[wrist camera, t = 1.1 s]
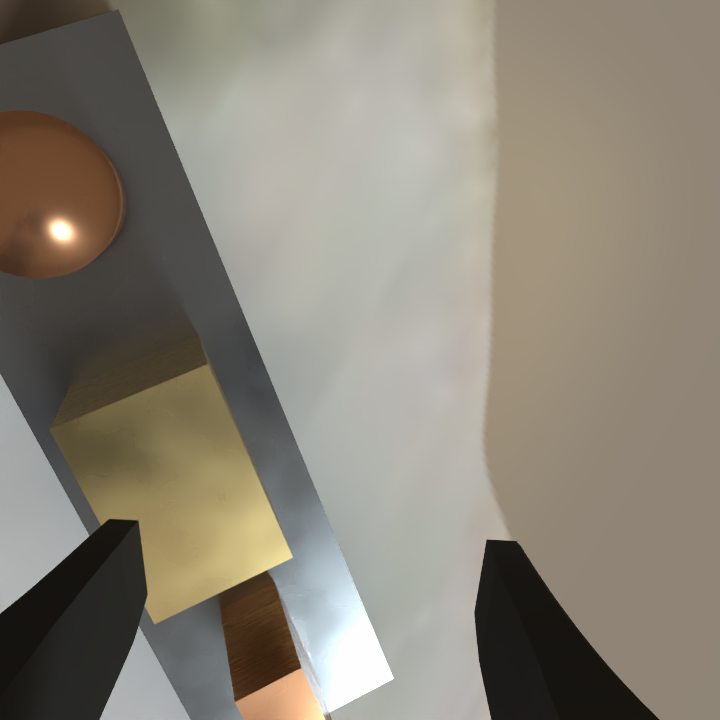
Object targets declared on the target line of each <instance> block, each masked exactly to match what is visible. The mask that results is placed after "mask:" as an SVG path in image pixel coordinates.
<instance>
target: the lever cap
mask: <svg viewBox="0 0 720 720" xmlns="http://www.w3.org/2000/svg"><path fill="white" fill-rule="evenodd" d="M49 430H50V432H51V434H52V436H53V438H54V439H55V441H56V443H57V445H58V447H59V449H60V450H61V452H62V454H63V456H64V458H65V460H66V462H67V463H68V465H69V467H70V469H71V471H72V473H73V475H74V476H75V478H76V480H77V482H78V484H79V486H80V487H81V489H82V491H83V493H84V495H85V497H86V499H87V500H88V502H89V504H90V506H91V508H92V510H93V512H94V513H95V515H96V517H97V519H98V521H99V523H100V524H101V525H103V524H104V523H105V522H106V521H107V520H108V519H123V520H139V528H140V536H141V544H142V552H143V560H144V567H145V575H146V583H147V591H148V595H147V599H146V602H145V608H146V610H147V611H148V613H149V615H150V617H151V619H152V621H153V622H154V624H156V623H158V622H160V621H163V620H165V619H167V618H169V617H171V616H173V615H175V614H177V613H179V612H181V611H183V610H185V609H187V608H189V607H192V606H194V605H196V604H198V603H200V602H202V601H204V600H206V599H208V598H210V597H212V596H214V595H216V594H219V593H221V592H223V591H225V590H227V589H229V588H231V587H233V586H235V585H237V584H239V583H241V582H243V581H245V580H248V579H250V578H252V577H254V576H256V575H258V574H260V573H262V572H264V571H266V570H268V569H270V568H272V567H274V566H277V565H279V564H281V563H283V562H285V561H287V560H289V559H291V558H293V556H292V553H291V551H290V548H289V546H288V543H287V540H286V538H285V535H284V533H283V530H282V528H281V525H280V522H279V520H278V517H277V515H276V512H275V509H274V507H273V504H272V502H271V499H270V497H269V494H268V492H267V490H266V488H265V485H264V483H263V481H262V479H261V476H260V474H259V472H258V469H257V467H256V465H255V463H254V460H253V458H252V456H251V453H250V451H249V449H248V447H247V444H246V442H245V440H244V437H243V435H242V433H241V431H240V428H239V426H238V424H237V421H236V419H235V417H234V415H233V412H232V410H231V408H230V405H229V403H228V401H227V399H226V396H225V394H224V392H223V390H222V387H221V385H220V383H219V380H218V378H217V376H216V374H215V371H214V369H213V367H212V364H211V362H210V360H209V358H208V355H207V353H206V351H205V348H204V346H203V344H202V342H201V339H200V337H199V335H197V336H195V337H192V338H190V339H187V340H185V341H182V342H180V343H177V344H175V345H172V346H170V347H167V348H165V349H162V350H160V351H158V352H155V353H153V354H150V355H148V356H145V357H143V358H140V359H138V360H135V361H133V362H130V363H128V364H125V365H123V366H120V367H118V368H115V369H113V370H110V371H108V372H105V373H103V374H100V375H98V376H95V377H93V378H91V379H88V380H86V381H83V382H81V383H78V384H76V385H73V386H71V387H70V388H69V390H68V392H67V394H66V396H65V398H64V400H63V402H62V404H61V406H60V408H59V410H58V412H57V415H56V417H55V419H54V421H53V423H52V425H51V427H50V429H49Z"/></svg>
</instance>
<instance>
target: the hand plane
mask: <svg viewBox="0 0 720 720" xmlns="http://www.w3.org/2000/svg"><path fill="white" fill-rule="evenodd" d="M197 335H199V337H200V339H201V342H202V344H203V346H204V348H205V351H206V353H207V355H208V358H209V360H210V362H211V364H212V367H213V369H214V371H215V374H216V376H217V378H218V380H219V383H220V385H221V387H222V390H223V392H224V394H225V396H226V399H227V401H228V403H229V405H230V408H231V410H232V412H233V415H234V417H235V419H236V421H237V424H238V426H239V428H240V431H241V433H242V435H243V437H244V440H245V442H246V444H247V447H248V449H249V451H250V453H251V456H252V458H253V460H254V463H255V465H256V467H257V469H258V472H259V474H260V476H261V479H262V481H263V483H264V485H265V488H266V490H267V492H268V494H269V497H270V499H271V502H272V504H273V507H274V509H275V512H276V515H277V517H278V520H279V522H280V525H281V528H282V530H283V533H284V535H285V538H286V540H287V543H288V546H289V548H290V551H291V553H292V556H293V558H291V559H289V560H287V561H285V562H283V563H281V564H279V565H277V566H274V567H272V568H270V569H268V570H266V571H264V572H262V573H260V574H258V575H256V576H254V577H252V578H250V579H248V580H245V581H243V582H241V583H239V584H237V585H235V586H233V587H231V588H229V589H227V590H225V591H223V592H221V593H219V594H216V595H214V596H212V597H210V598H208V599H206V600H204V601H202V602H200V603H198V604H196V605H194V606H192V607H189V608H187V609H185V610H183V611H181V612H179V613H177V614H175V615H173V616H171V617H169V618H167V619H165V620H163V621H160V622H158V623H156V624H154V622H153V621H152V619H151V617H150V615H149V613H148V611H147V610H146V608H145V606H144V609H143V613H142V616H141V620H140V623H139V626H140V628H141V630H142V632H143V633H144V635H145V637H146V639H147V641H148V643H149V644H150V646H151V648H152V650H153V652H154V653H155V655H156V657H157V659H158V661H159V663H160V664H161V666H162V668H163V670H164V672H165V673H166V675H167V677H168V679H169V681H170V683H171V684H172V686H173V688H174V690H175V692H176V693H177V695H178V697H179V699H180V701H181V703H182V704H183V706H184V708H185V710H186V712H187V713H188V715H189V717H190V719H191V720H332V719H331V716H330V712H331V711H333V710H335V709H337V708H339V707H341V706H343V705H345V704H346V703H348V702H350V701H352V700H354V699H356V698H358V697H359V696H361V695H363V694H365V693H367V692H369V691H371V690H373V689H374V688H376V687H378V686H380V685H382V684H384V683H386V682H387V681H389V680H391V679H393V677H392V674H391V672H390V669H389V667H388V665H387V662H386V660H385V657H384V655H383V652H382V650H381V648H380V645H379V643H378V640H377V638H376V635H375V633H374V630H373V628H372V626H371V623H370V621H369V618H368V616H367V613H366V611H365V609H364V606H363V604H362V601H361V599H360V596H359V594H358V592H357V589H356V587H355V584H354V582H353V579H352V577H351V575H350V572H349V570H348V567H347V565H346V562H345V560H344V557H343V555H342V553H341V550H340V548H339V545H338V543H337V540H336V538H335V536H334V533H333V531H332V528H331V526H330V523H329V521H328V519H327V516H326V514H325V511H324V509H323V506H322V504H321V502H320V499H319V497H318V494H317V492H316V489H315V487H314V484H313V482H312V480H311V477H310V475H309V472H308V470H307V467H306V465H305V463H304V460H303V458H302V455H301V453H300V450H299V448H298V446H297V443H296V441H295V438H294V436H293V433H292V431H291V429H290V426H289V424H288V421H287V419H286V416H285V414H284V411H283V409H282V407H281V404H280V402H279V399H278V397H277V394H276V392H275V390H274V387H273V385H272V382H271V380H270V377H269V375H268V373H267V370H266V368H265V365H264V363H263V360H262V358H261V356H260V353H259V351H258V348H257V346H256V343H255V341H254V338H253V336H252V334H251V331H250V329H249V326H248V324H247V321H246V319H245V317H244V314H243V312H242V309H241V307H240V304H239V302H238V300H237V297H236V295H235V292H234V290H233V287H232V285H231V283H230V280H229V278H228V275H227V273H226V270H225V268H224V265H223V263H222V261H221V258H220V256H219V253H218V251H217V248H216V246H215V244H214V241H213V239H212V236H211V234H210V231H209V229H208V227H207V224H206V222H205V219H204V217H203V214H202V212H201V210H200V207H199V205H198V202H197V200H196V197H195V195H194V193H193V190H192V188H191V185H190V183H189V180H188V178H187V175H186V173H185V171H184V168H183V166H182V163H181V161H180V158H179V156H178V154H177V151H176V149H175V146H174V144H173V141H172V139H171V137H170V134H169V132H168V129H167V127H166V124H165V122H164V120H163V117H162V115H161V112H160V110H159V107H158V105H157V102H156V100H155V98H154V95H153V93H152V90H151V88H150V85H149V83H148V81H147V78H146V76H145V73H144V71H143V68H142V66H141V64H140V61H139V59H138V56H137V54H136V51H135V49H134V47H133V44H132V42H131V39H130V37H129V34H128V32H127V29H126V27H125V25H124V22H123V20H122V17H121V15H120V12H119V10H118V9H117V10H114V11H111V12H107V13H104V14H101V15H97V16H94V17H91V18H87V19H84V20H81V21H77V22H74V23H71V24H67V25H64V26H61V27H57V28H54V29H51V30H47V31H44V32H41V33H37V34H34V35H30V36H27V37H24V38H20V39H17V40H14V41H10V42H7V43H4V44H0V374H1V375H2V377H3V379H4V381H5V383H6V385H7V386H8V388H9V390H10V392H11V394H12V395H13V397H14V399H15V401H16V403H17V405H18V406H19V408H20V410H21V412H22V414H23V415H24V417H25V419H26V421H27V423H28V425H29V426H30V428H31V430H32V432H33V434H34V435H35V437H36V439H37V441H38V443H39V445H40V446H41V448H42V450H43V452H44V454H45V455H46V457H47V459H48V461H49V463H50V465H51V466H52V468H53V470H54V472H55V474H56V475H57V477H58V479H59V481H60V483H61V485H62V486H63V488H64V490H65V492H66V494H67V495H68V497H69V499H70V501H71V503H72V504H73V506H74V508H75V510H76V512H77V514H78V515H79V517H80V519H81V521H82V523H83V524H84V526H85V528H86V530H87V532H88V534H89V535H91V534H93V533H94V532H95V531H96V530H97V529H98V528H99V527H100V526H101V524H100V523H99V521H98V519H97V517H96V515H95V513H94V512H93V510H92V508H91V506H90V504H89V502H88V500H87V499H86V497H85V495H84V493H83V491H82V489H81V487H80V486H79V484H78V482H77V480H76V478H75V476H74V475H73V473H72V471H71V469H70V467H69V465H68V463H67V462H66V460H65V458H64V456H63V454H62V452H61V450H60V449H59V447H58V445H57V443H56V441H55V439H54V438H53V436H52V434H51V432H50V430H49V429H50V427H51V425H52V423H53V421H54V419H55V417H56V415H57V412H58V410H59V408H60V406H61V404H62V402H63V400H64V398H65V396H66V394H67V392H68V390H69V388H70V387H71V386H73V385H76V384H78V383H81V382H83V381H86V380H88V379H91V378H93V377H95V376H98V375H100V374H103V373H105V372H108V371H110V370H113V369H115V368H118V367H120V366H123V365H125V364H128V363H130V362H133V361H135V360H138V359H140V358H143V357H145V356H148V355H150V354H153V353H155V352H158V351H160V350H162V349H165V348H167V347H170V346H172V345H175V344H177V343H180V342H182V341H185V340H187V339H190V338H192V337H195V336H197Z"/></svg>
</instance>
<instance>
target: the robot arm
mask: <svg viewBox="0 0 720 720" xmlns="http://www.w3.org/2000/svg"><path fill="white" fill-rule="evenodd" d="M147 595H148V591H147V583H146V575H145V567H144V560H143V552H142V544H141V536H140V528H139V520H123V519H108V520H107V521H106V522H105V523H104V524H103V525H101V526H100V527H99V528H98V529H97V530H96V531H95V532H94V533H93V534H91V535H90V536H89V537H88V538H87V539H86V540H85V541H84V542H83V543H82V544H81V545H79V546H78V547H77V548H76V549H75V550H74V551H73V552H72V553H71V554H70V555H68V556H67V557H66V558H65V559H64V560H63V561H62V562H61V563H60V564H59V565H57V566H56V567H55V568H54V569H53V570H52V571H51V572H49V573H48V574H47V575H46V576H45V577H44V578H43V579H41V580H40V581H39V582H38V583H37V584H36V585H35V586H33V587H32V588H31V589H30V590H29V591H28V592H26V593H25V594H24V595H23V596H22V597H20V598H19V599H18V600H17V601H15V602H14V603H13V604H12V605H10V606H9V607H8V608H7V609H5V610H4V611H3V612H2V613H1V614H0V720H99V719H100V717H101V715H102V712H103V710H104V708H105V706H106V703H107V701H108V699H109V697H110V694H111V692H112V690H113V688H114V685H115V683H116V681H117V679H118V676H119V674H120V672H121V669H122V667H123V665H124V663H125V660H126V658H127V656H128V653H129V651H130V649H131V646H132V644H133V642H134V639H135V635H136V632H137V629H138V626H139V623H140V620H141V616H142V613H143V609H144V606H145V602H146V599H147ZM474 613H475V624H476V635H477V645H478V655H479V663H480V668H481V672H482V677H483V682H484V687H485V692H486V696H487V701H488V706H489V710H490V715H491V720H659V719H658V718H657V717H656V716H655V715H654V714H653V713H652V712H651V711H650V710H649V709H648V708H647V707H646V706H645V705H644V704H643V703H642V702H641V701H640V700H639V699H638V698H637V697H636V696H635V695H634V693H633V692H632V691H631V690H630V689H629V688H628V687H627V686H626V685H625V684H624V683H623V682H622V681H621V680H620V679H619V677H618V676H617V675H616V674H615V673H614V672H613V671H612V670H611V668H610V667H609V666H608V665H607V664H606V663H605V662H604V660H603V659H602V658H601V657H600V656H599V654H598V653H597V652H596V651H595V649H594V648H593V647H592V646H591V645H590V643H589V642H588V641H587V640H586V639H585V637H584V636H583V635H582V633H581V632H580V631H579V630H578V628H577V627H576V626H575V624H574V623H573V622H572V620H571V619H570V618H569V617H568V615H567V614H566V612H565V611H564V610H563V608H562V607H561V606H560V604H559V603H558V601H557V600H556V599H555V598H554V596H553V594H552V593H551V592H550V590H549V589H548V587H547V586H546V584H545V583H544V581H543V580H542V578H541V577H540V576H539V574H538V572H537V571H536V569H535V568H534V566H533V565H532V563H531V562H530V560H529V558H528V557H527V555H526V554H525V552H524V551H523V549H522V547H521V546H520V545H519V544H518V543H517V541H503V540H487V541H486V547H485V553H484V559H483V565H482V571H481V577H480V583H479V589H478V595H477V600H476V606H475V612H474Z"/></svg>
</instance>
